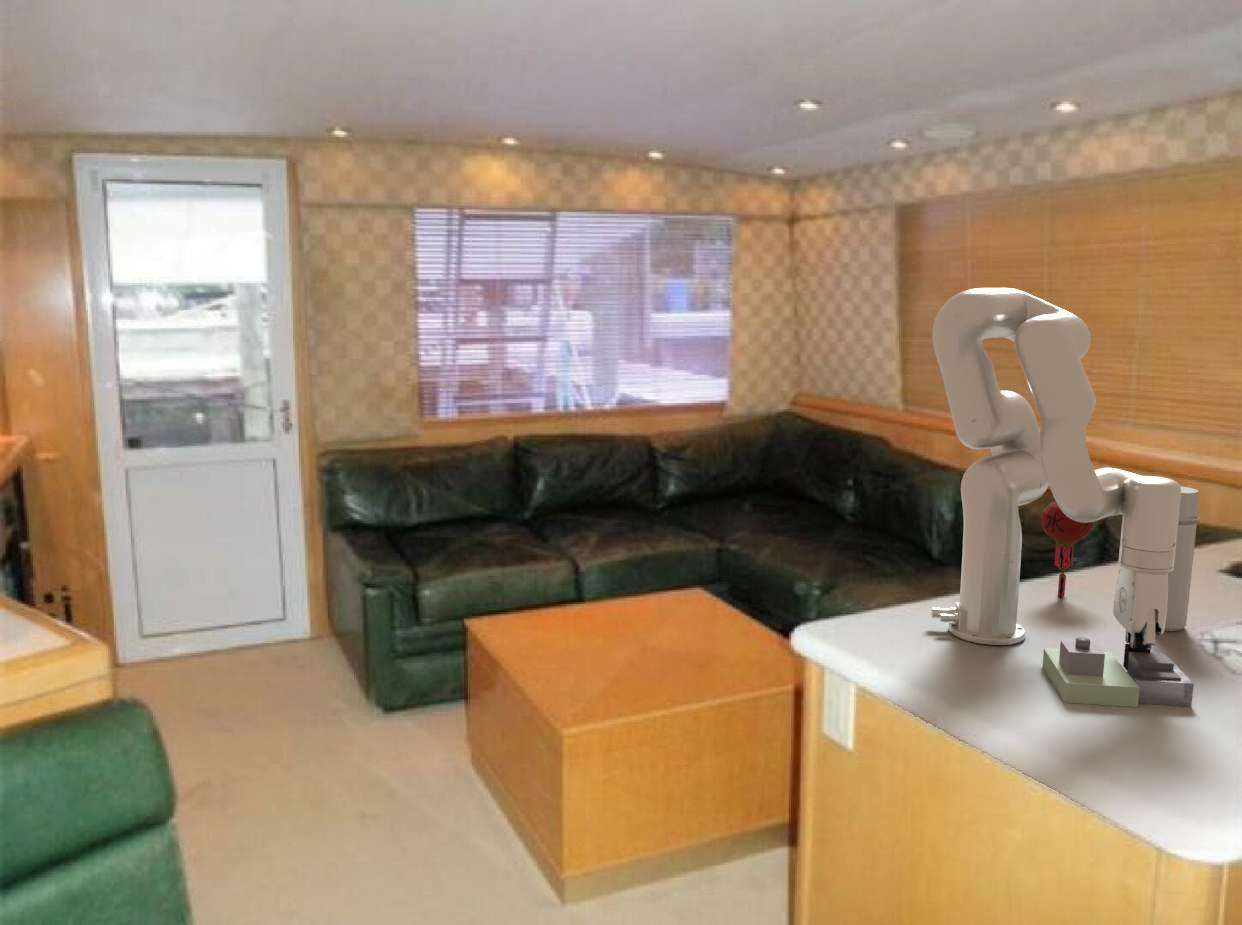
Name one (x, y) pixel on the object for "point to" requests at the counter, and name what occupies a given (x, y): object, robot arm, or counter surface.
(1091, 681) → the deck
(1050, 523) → the lantern
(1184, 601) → the water bottle
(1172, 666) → the gray stepped block
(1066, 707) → the counter surface
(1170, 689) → the side bracket
